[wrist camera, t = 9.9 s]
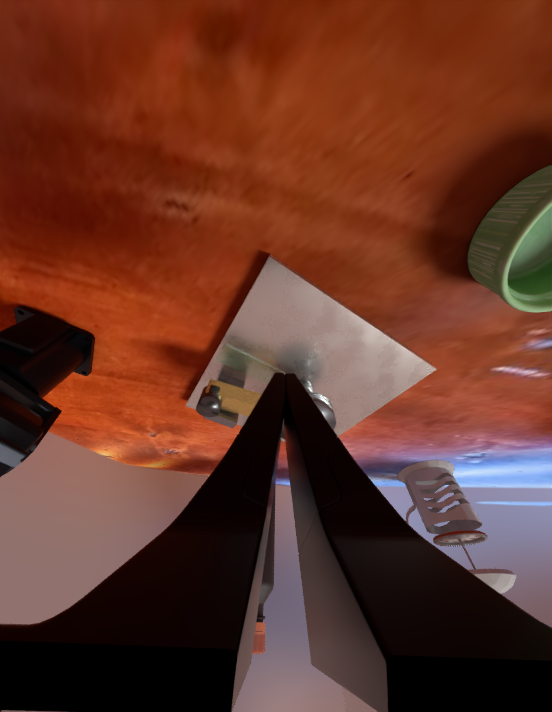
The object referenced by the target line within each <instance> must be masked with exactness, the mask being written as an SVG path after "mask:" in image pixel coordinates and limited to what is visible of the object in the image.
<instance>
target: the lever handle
mask: <svg viewBox="0 0 552 712" xmlns="http://www.w3.org/2000/svg"><path fill="white" fill-rule="evenodd" d="M307 392H308V393H309V395H310V396H311V398H312V399H313V400H314V402H315V403H316V405H317V406H318V408H319V409H320V411H321V412H322V414H323V415H324V417H325V418H326V420H327V421H328V423H329V424H330V426H331V427H332V429H333V430H334V429H335V426H336V418H335V414H334V410H333V406H332V403H331V402H330V400H329V399H328V398H326V397H325V396H323V395H321V394H319V393H315V392H310V391H307ZM261 395H262V394H260V393H257V392H254V391H250V390H247V389H243V388H240V387H237V386H233V385H230V384H226V383H223V382H220V381H216V380H213V379H210V381H209V383H208V386H205V387H204V388H203V391H202V393H201V396H200V398H199V401H198V403H197V406H196V411H197V412H198V413H199V414H200V415H202V416H205V417H215V416H217V415H218V414H219V412H220V409H222V410H226V411H230V412H234V413H237V414H241V415H245V416H249V415H250V413H251V412H252V410H253V408H254V407H255V405H256V403H257V401H258V400H259V398H260V396H261ZM281 438H283V439H285V434H284V423H283V428H282V436H281Z"/></svg>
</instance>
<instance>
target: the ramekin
mask: <svg viewBox="0 0 552 712" xmlns="http://www.w3.org/2000/svg"><path fill="white" fill-rule="evenodd" d="M467 260H468V267H469V271H470V273H471V275H472V276H473V278H474V279H475V280H476V281H477V282H479V283H480V284H482V285H483V286H485V287H486V288H488V289H490V290H491V291H493V292H495V293H496V294H498V295H499V296H500V297H501V298H502V299H503V300H504V301H505V302H506V303H507V304H509V305H510V306H512V307H513V308H515V309H518V310H521V311H526V312H546V311H552V165H549V166H547V167H545V168H543V169H540V170H538V171H537V172H535V173H533V174H532V175H530V176H528V177H527V178H525V179H524V180H522V181H521V182H519V183H518V184H517V185H515V186H514V187H513V188H512V189H511V190H509V191H508V192H507V193H506V194H505V195H504V196H503V197H502V198H501V199H500V200H499V201H498V202H497V203H496V204H495V205H494V206H493V207H492V208H491V209H490V210H489V212H488V213H487V214H486V216H485V217H484V218H483V220H482V221H481V223H480V225H479V226H478V228H477V230H476V232H475V234H474V236H473V238H472V241H471V243H470V247H469V251H468V259H467Z"/></svg>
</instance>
